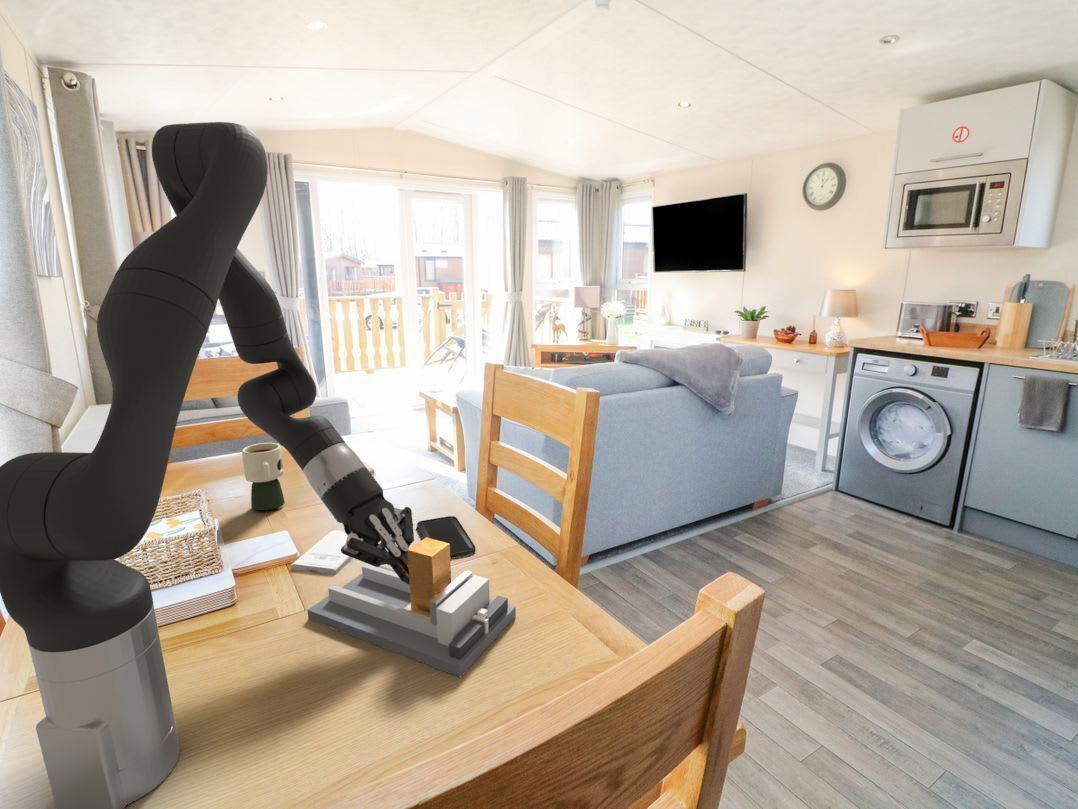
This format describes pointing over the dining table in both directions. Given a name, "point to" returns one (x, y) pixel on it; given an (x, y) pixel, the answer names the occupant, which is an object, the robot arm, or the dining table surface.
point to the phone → (447, 534)
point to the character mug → (264, 474)
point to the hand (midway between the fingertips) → (415, 579)
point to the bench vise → (416, 618)
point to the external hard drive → (325, 555)
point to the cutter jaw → (431, 577)
